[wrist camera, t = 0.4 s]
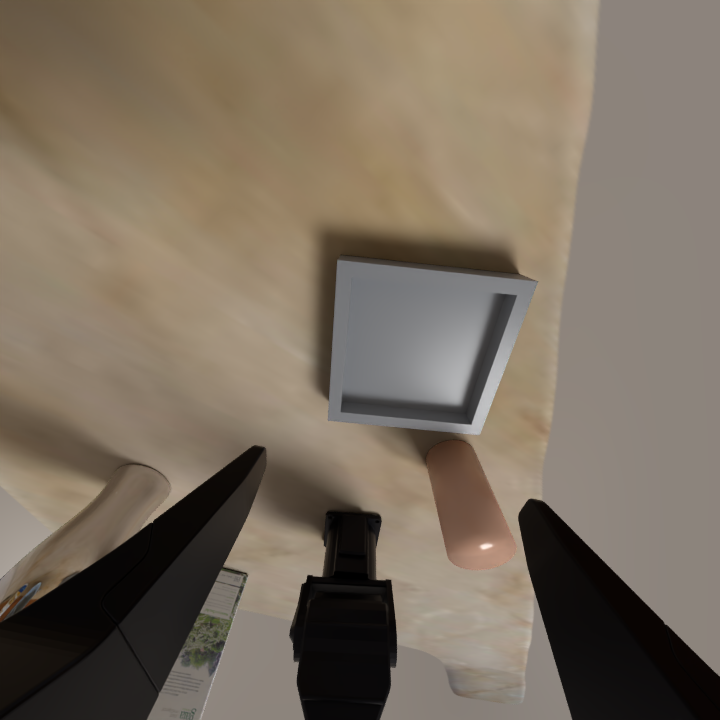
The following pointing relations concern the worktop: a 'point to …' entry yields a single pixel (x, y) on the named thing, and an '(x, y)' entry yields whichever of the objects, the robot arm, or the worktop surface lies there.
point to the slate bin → (421, 342)
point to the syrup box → (201, 652)
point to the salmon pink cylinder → (468, 508)
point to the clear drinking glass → (85, 536)
